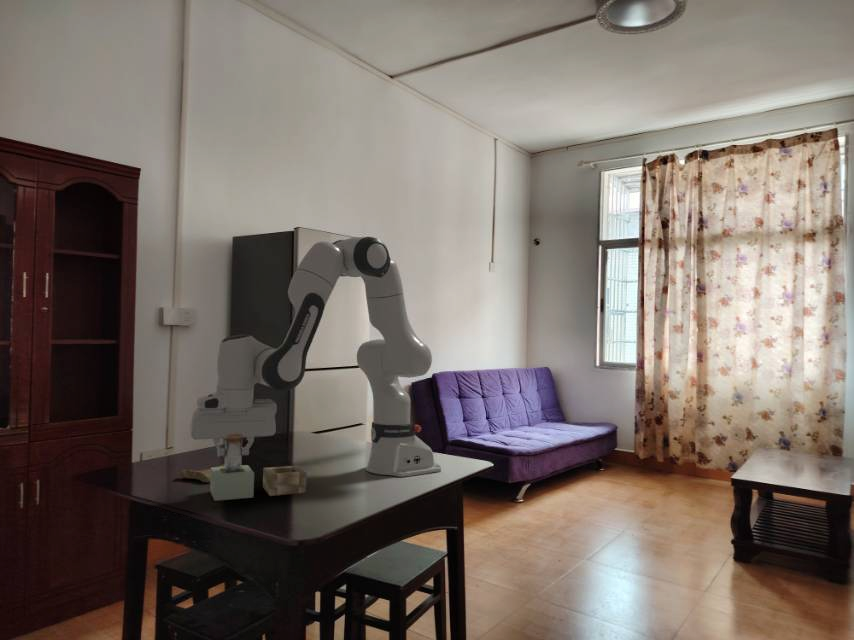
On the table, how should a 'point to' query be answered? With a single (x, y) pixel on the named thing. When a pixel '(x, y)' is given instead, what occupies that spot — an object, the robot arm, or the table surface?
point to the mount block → (284, 480)
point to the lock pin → (233, 453)
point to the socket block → (232, 483)
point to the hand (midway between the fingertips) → (233, 455)
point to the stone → (197, 474)
